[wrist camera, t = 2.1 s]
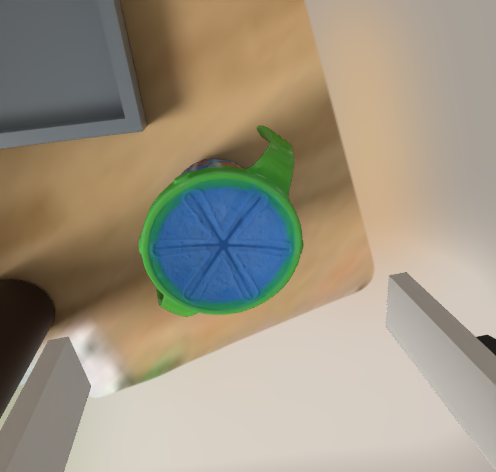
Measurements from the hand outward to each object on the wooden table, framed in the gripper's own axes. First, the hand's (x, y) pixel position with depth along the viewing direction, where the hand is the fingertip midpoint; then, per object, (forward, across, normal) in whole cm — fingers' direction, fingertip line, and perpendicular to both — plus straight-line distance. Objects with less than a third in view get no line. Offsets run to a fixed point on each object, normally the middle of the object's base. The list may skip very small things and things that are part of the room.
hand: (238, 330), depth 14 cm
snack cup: (+19, 0, -1) cm, 19 cm away
